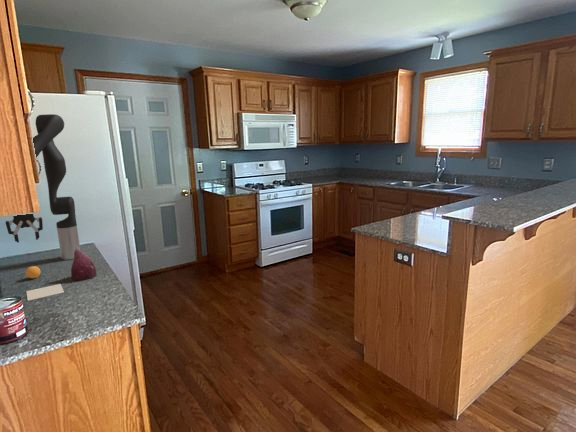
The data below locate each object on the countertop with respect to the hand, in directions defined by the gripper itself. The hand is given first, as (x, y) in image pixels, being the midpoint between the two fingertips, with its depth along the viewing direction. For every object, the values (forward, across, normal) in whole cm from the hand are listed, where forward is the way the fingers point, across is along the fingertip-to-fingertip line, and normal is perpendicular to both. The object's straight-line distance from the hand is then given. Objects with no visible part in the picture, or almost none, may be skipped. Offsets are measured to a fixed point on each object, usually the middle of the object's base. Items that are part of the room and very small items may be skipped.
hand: (27, 240), depth 164 cm
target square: (+16, -2, +33) cm, 37 cm away
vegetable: (+16, -18, +24) cm, 34 cm away
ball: (+13, 0, +9) cm, 16 cm away
